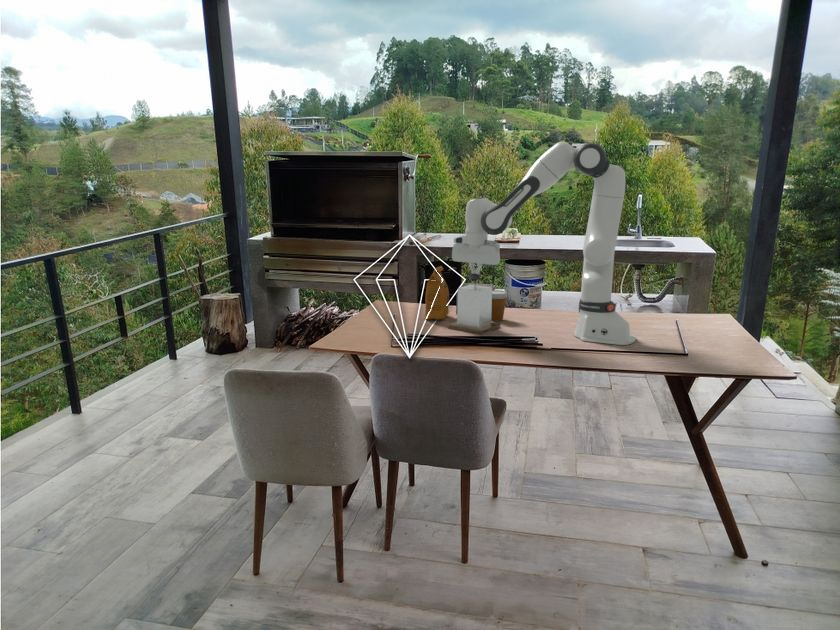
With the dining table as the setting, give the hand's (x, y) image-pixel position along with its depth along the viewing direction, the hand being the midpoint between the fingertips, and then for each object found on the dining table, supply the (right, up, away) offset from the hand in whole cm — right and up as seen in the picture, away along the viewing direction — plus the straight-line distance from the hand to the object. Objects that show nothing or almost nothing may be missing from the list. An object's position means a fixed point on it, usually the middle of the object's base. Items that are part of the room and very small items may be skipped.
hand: (475, 274), depth 239 cm
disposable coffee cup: (+10, -18, +19) cm, 28 cm away
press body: (0, -21, +5) cm, 22 cm away
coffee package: (-14, -18, +22) cm, 32 cm away
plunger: (0, -18, +4) cm, 18 cm away
